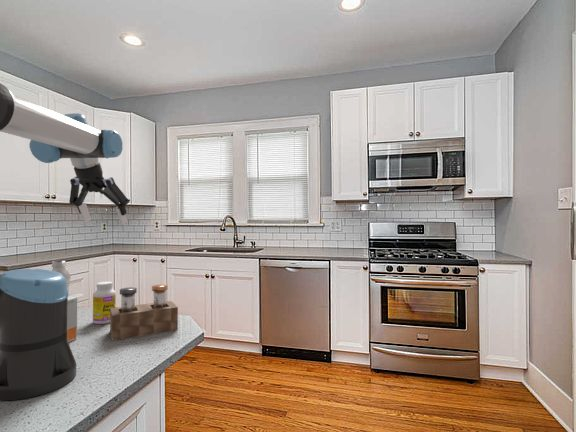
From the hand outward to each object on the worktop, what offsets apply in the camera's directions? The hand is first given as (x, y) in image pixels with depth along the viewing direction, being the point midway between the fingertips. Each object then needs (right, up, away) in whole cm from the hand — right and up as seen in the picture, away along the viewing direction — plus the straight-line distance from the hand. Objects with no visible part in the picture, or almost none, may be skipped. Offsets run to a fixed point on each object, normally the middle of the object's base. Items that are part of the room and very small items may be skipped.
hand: (106, 222), depth 120 cm
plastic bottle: (-12, -33, -6) cm, 36 cm away
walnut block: (+19, -33, -14) cm, 41 cm away
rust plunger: (+23, -29, -12) cm, 39 cm away
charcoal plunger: (+15, -28, -16) cm, 36 cm away
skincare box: (+1, -33, -24) cm, 41 cm away
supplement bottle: (+2, -33, -6) cm, 34 cm away
